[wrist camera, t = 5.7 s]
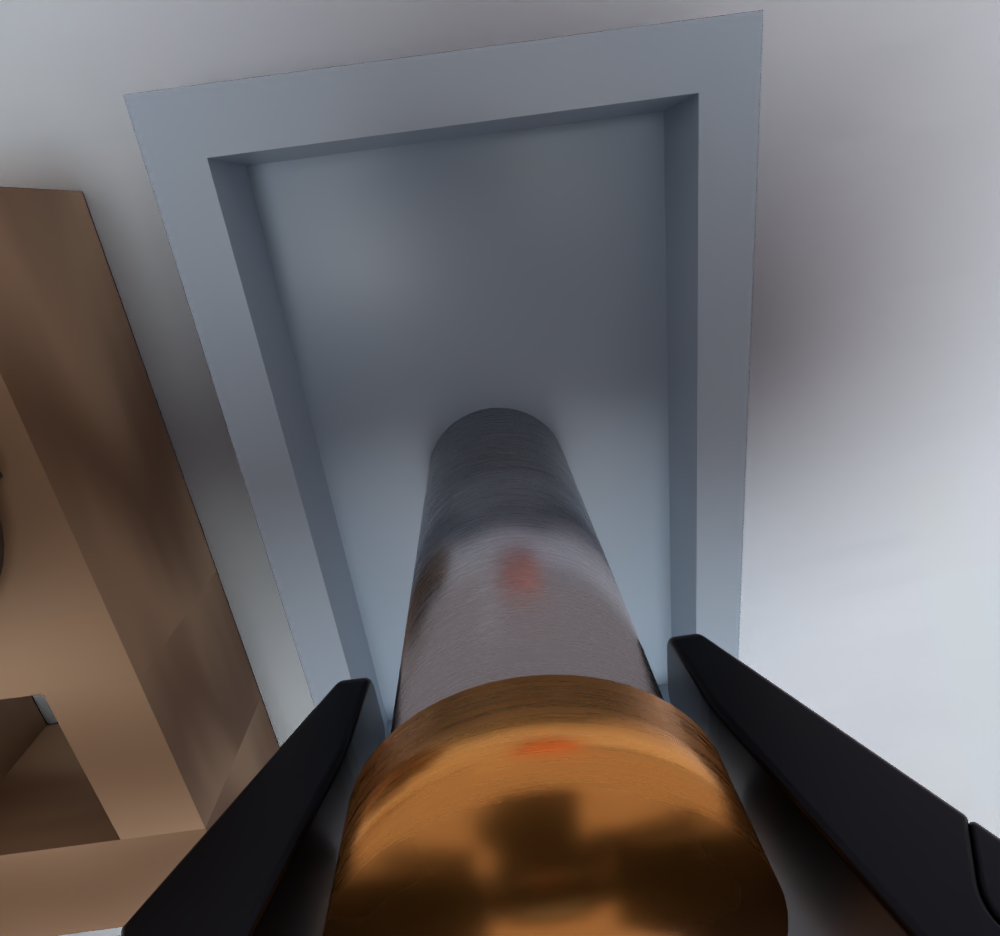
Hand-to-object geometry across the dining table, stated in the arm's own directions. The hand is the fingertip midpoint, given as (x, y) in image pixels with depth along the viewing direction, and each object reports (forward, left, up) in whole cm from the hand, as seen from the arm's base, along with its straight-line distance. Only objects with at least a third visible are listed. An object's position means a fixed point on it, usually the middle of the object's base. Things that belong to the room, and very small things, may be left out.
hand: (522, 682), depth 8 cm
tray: (0, 0, -8) cm, 8 cm away
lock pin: (0, 0, -7) cm, 7 cm away
